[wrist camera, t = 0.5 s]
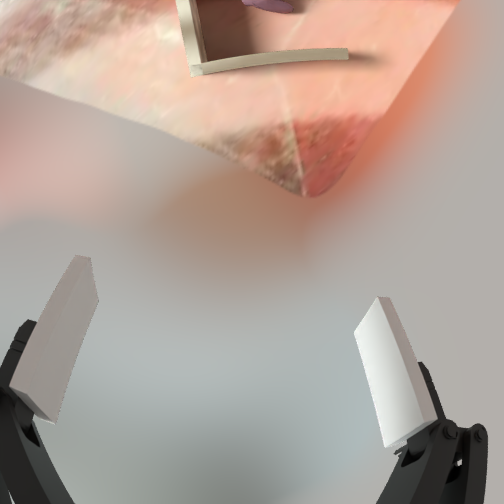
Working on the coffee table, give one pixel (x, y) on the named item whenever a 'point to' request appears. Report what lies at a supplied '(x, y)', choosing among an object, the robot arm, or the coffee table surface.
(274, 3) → the video game controller
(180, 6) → the bay
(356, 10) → the coffee table surface
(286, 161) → the coffee table surface
